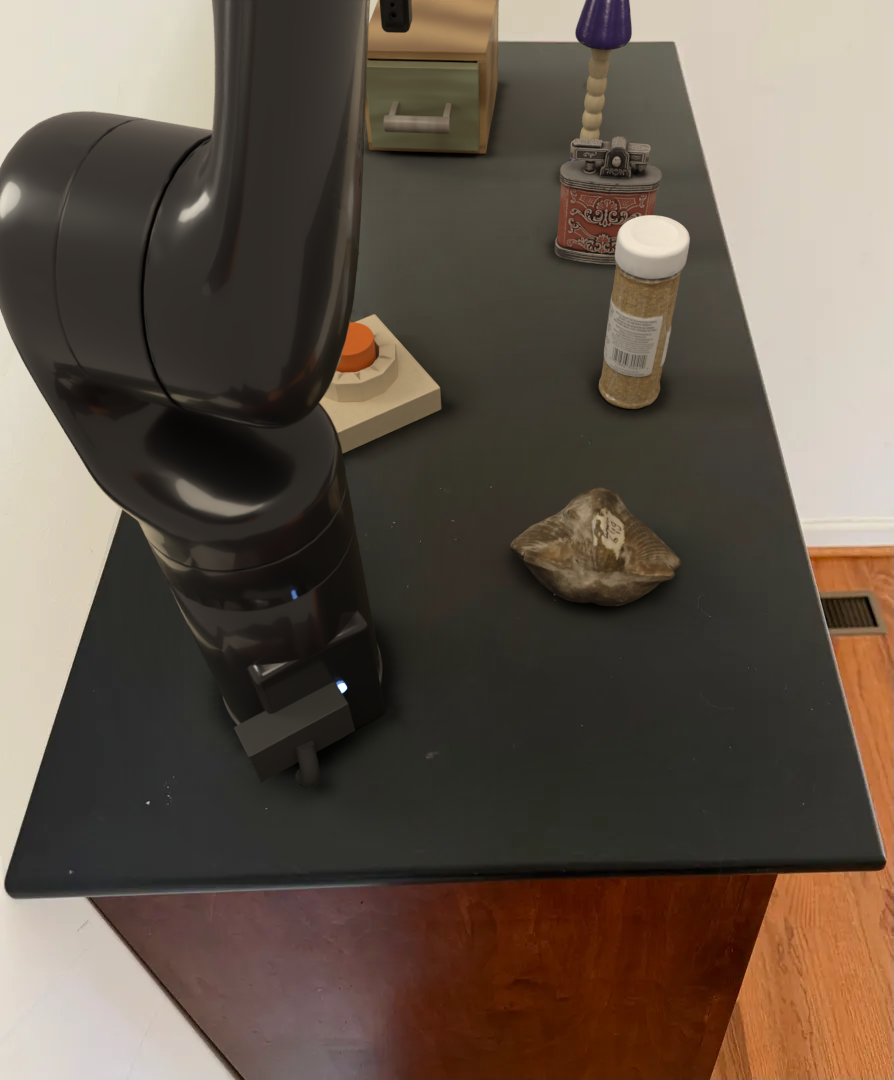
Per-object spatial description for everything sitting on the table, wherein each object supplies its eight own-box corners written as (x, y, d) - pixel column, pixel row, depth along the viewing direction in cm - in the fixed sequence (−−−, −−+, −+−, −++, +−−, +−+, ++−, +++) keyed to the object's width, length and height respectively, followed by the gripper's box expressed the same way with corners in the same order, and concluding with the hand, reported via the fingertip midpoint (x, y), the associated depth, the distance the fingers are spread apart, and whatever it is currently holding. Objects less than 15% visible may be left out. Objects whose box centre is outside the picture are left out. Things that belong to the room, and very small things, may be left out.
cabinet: (485, 153, 89) (486, 52, 81) (369, 150, 90) (358, 49, 82) (497, 86, 97) (498, -12, 89) (390, 83, 98) (382, -14, 90)
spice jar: (670, 387, 68) (705, 229, 57) (636, 421, 66) (665, 263, 55) (619, 361, 70) (644, 203, 59) (584, 393, 68) (603, 236, 57)
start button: (384, 361, 65) (382, 343, 64) (340, 380, 64) (337, 361, 63) (361, 334, 67) (358, 315, 66) (317, 352, 66) (314, 333, 65)
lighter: (649, 244, 79) (667, 132, 71) (647, 267, 77) (666, 155, 69) (556, 237, 80) (564, 127, 72) (552, 260, 78) (560, 149, 70)
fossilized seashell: (489, 580, 55) (644, 652, 53) (529, 484, 52) (694, 557, 50) (518, 539, 61) (656, 601, 60) (554, 452, 59) (700, 515, 57)
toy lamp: (609, 163, 87) (632, -30, 74) (617, 190, 84) (642, -5, 71) (559, 166, 87) (573, -26, 74) (566, 193, 84) (581, -2, 71)
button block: (441, 409, 67) (439, 368, 64) (333, 458, 65) (325, 418, 61) (377, 335, 73) (372, 294, 69) (275, 378, 70) (265, 337, 67)
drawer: (474, 175, 85) (473, 91, 79) (364, 171, 86) (355, 88, 80) (490, 88, 95) (490, 8, 89) (392, 85, 96) (385, 6, 90)
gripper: (422, -238, 53) (434, 69, 66) (448, -290, 61) (455, -7, 74) (295, -236, 53) (333, 67, 67) (338, -288, 61) (364, -8, 75)
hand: (397, 27), depth 71 cm, fingers closed
